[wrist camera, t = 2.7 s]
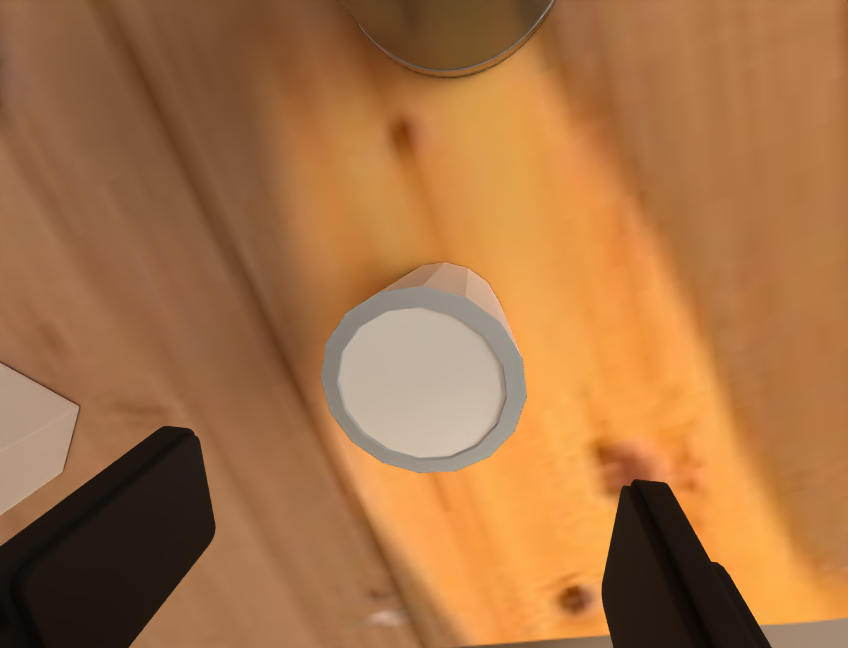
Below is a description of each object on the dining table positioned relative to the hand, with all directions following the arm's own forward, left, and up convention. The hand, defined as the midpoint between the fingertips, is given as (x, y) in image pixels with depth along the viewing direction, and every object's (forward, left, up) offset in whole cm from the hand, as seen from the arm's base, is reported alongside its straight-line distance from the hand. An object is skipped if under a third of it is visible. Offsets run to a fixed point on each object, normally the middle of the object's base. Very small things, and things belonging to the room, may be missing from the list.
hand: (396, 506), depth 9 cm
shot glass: (0, 0, -12) cm, 12 cm away
